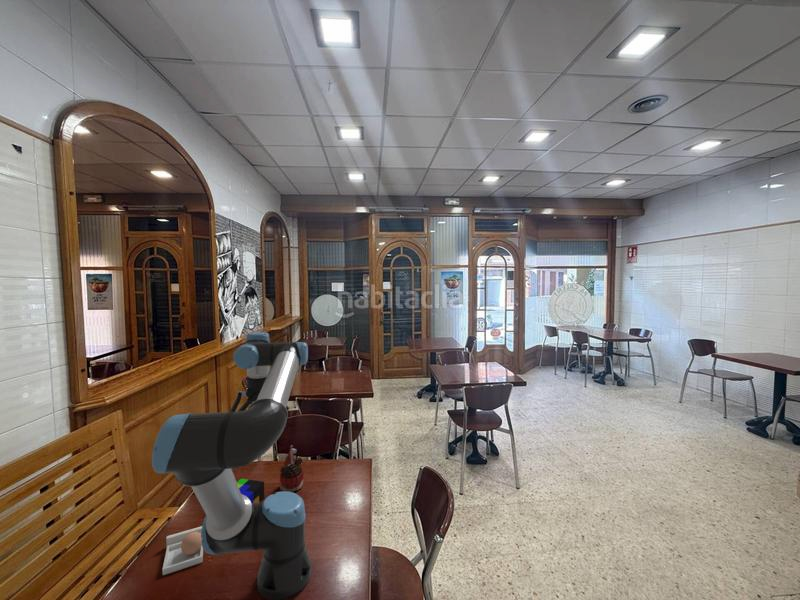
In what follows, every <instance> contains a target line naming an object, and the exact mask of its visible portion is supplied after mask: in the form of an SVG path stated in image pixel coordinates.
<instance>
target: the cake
mask: <svg viewBox="0 0 800 600" xmlns="http://www.w3.org/2000/svg"><path fill="white" fill-rule="evenodd" d="M293 447H294V446H293V445H291V444H290V448H289V449H290V450H289V451H288V454H287V456H286V458H285V459H284V462H283V465H282V467H281V468H280V474H279V483H280V486H279V489H280V491H281V492H283V491H287V492H295V491H298V490H300V489H301V488H303V486H304V470H303V468H302V466H301V465H302V462H303V458H301V457H300V456H298V457H296V458H295V457H294V455H295V454H296V453H297V449H296V448H293Z"/></svg>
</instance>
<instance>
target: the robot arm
mask: <svg viewBox="0 0 800 600" xmlns="http://www.w3.org/2000/svg"><path fill="white" fill-rule="evenodd" d="M245 339H246V340H245V342H246V343H244V344H242V345H240V346H238V348H237V349H236V350H235V351H234V353H233V362H234V364H235V366H237V367H238V368H239V369H242V370H246V375H247V377H246V385H247V386H246V391H241V390H237V395H236V398H235V400H234V403H233V404H232V406H231V408H230V410H229V411H221V412H219V411H218V412H202V413H201V412H200V413H191V412H187V413H181V414H175V415H173V416H170V417H169V418H168V419H166V420H165V422H164V423H163V424H162V426H161V427H160V429H159V431H158V434H157V435H156V438H155V441H154V444H153V449H152V452H151V454H152V455H151V466H152V469H153V471H154V472H155V473H156V474H162V475H166V474H173V475H174V476H175V478H176V479H177V481H178V482H179V483H180V484H182V485H183V486H186V487H191V489H192V491H193V492H194V494H195V496H196V498H197V500H198V503H199V504H200V505H201V508H202V510H203V511H204V513H205V516H204V519H203V521H202V525H201V526H202V530H201V538H202V541H201V543H202V547H203V552H205V553H206V554H209V555H217V556H220V555H221V556H222V555H224V554H230V553H231V554H232V553H242V552H249V551H259V550H261V551H262V550H263V556H262V559H261V563H260V566H259V569H258V573H257V578H256V580H257V582H256V583H257V590H258V592H259V594H260V595H261V596H262V597H263V598H264V599H267V600H285V599H288V598H291V597H292V596H295V595H296V594H298V593H299V592H301V591H302V590H303V589H304V588H305V587H306V586H307V585H308V583H309V581H310V579H311V576H312V559H311V557H310V554H309V552H308V549H307V547H306V516H307V515H306V511H305V509H306V508H305V501H304V499H303V498H302V497H301V496H300V495H299V494H297V493H294V491H292V492H291V491H290V492H288V491H277V492H274V494H270V495H268V496H266V498H264V502H259V503H251V501H250V500H249V498H248V497H246V496H245V495H243V494H241V493H240V490H239V487H238V485H237V482H238V481H237V480H236V478H235V474H234V472H233V469H238V468H241V467H245V466H247V465H249V464H251V463H252V462H254V461H256V460H258V459H259V458H260V457H262V456H263V455H264V454H266V452H267V451H269V450H270V449H271V448H272V447H273V445H274V444H276V442H277V441H278V440H279V438H280V437H281V436H282V433H283V432H284V429H285V428H286V424H287V422H288V418H289V413H288V411H289V410H290V408H289V406H288V401H289V398H290V397H291V396H290V395H291V392H292V389H293V385H294V381H295V378H296V375H297V372H298V368H299V366H302V365H306V364H307V363H308V359H309V346H308V343H306V342H305V341H303V342H302V341H287V342H286V341H285V342H284V341H283V342H282V341H281V342H271V340H270V335H269V333H268V332H264V331H254V332H249V333H248V334H246V338H245ZM245 396H246V397H247V399H246V400H245V402H244V403H243V404H242V405H241V406H240V408H239V409H237V408H238V406H239V404H240V402H241V399H243V398H244V397H245Z"/></svg>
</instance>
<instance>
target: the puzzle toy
mask: <svg viewBox="0 0 800 600" xmlns="http://www.w3.org/2000/svg"><path fill="white" fill-rule="evenodd" d="M236 482H237V485H238V487H239V490H240V493H241V494H243V495H245V496H246V497H248V498H249V500H250V501H251V503H259V502H264V500H265V481H261V480H256V479H255V480H254V479H246V478H240V479H239V480H238V481H236Z"/></svg>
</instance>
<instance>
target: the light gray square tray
mask: <svg viewBox="0 0 800 600" xmlns="http://www.w3.org/2000/svg"><path fill="white" fill-rule="evenodd" d="M181 544H182V542H179V543H176V544H172V545H169V546H166V551H165V555H164V561H163V565H162V576H165V575H168V574H172V573H174V572H177V571H181V570H183V569H186V568H189V567H192V566H196V565H199V564H201V563H203V559H204V558H203V556H204V549H203V547H202V546H201V547H200V549H199V550H198V551H197V552H196V553H194V554H191V555H186V554H184V553H183V552H182V550H181Z"/></svg>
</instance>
